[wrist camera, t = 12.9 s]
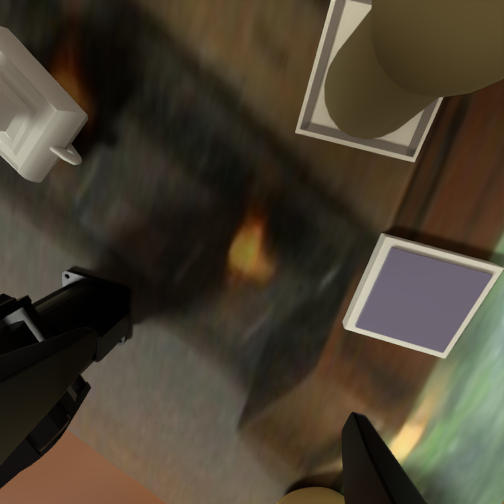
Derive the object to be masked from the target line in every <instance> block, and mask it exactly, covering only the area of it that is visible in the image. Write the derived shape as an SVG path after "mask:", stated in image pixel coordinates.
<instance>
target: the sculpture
mask: <svg viewBox="0 0 504 504" xmlns="http://www.w3.org/2000/svg"><path fill="white" fill-rule="evenodd" d="M276 504H345V500H344V496H343V495H341V494H340V493H338V492H336V491H334V490H332V489H329V488H325V487H307V488H302V489H298V490H295V491H293V492H290V493H289V494H287V495H285V496H284V497H282V498H281V499H280V500H279V501H278V502H277V503H276Z"/></svg>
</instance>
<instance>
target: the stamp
mask: <svg viewBox="0 0 504 504" xmlns="http://www.w3.org/2000/svg"><path fill="white" fill-rule="evenodd" d="M88 119H89V118H88V115H87V114H86V113H85V112H84V111H83V110H82V108H81V107H80V106H79V105H78V104H77V103H76V102H75V101H74V100H73V99H72V98H71V97H70V95H69V94H68V93H67V92H66V91H65V90H64V89H63V88H62V87H61V86H60V85H59V84H58V82H57V81H56V80H55V79H54V78H53V77H52V76H51V75H50V74H49V73H48V72H47V71H46V69H45V68H44V67H43V66H42V65H41V64H40V63H39V62H38V61H37V60H36V59H35V58H34V56H33V55H32V54H31V53H30V52H29V51H28V50H27V49H26V48H25V47H24V46H23V45H22V43H21V42H20V41H19V40H18V39H17V38H16V37H15V36H14V35H13V34H12V33H11V32H10V30H9V29H8V28H4V27H1V26H0V155H1V156H2V157H3V158H4V159H5V160H6V161H7V162H8V163H9V164H10V165H11V166H12V167H13V168H14V169H15V170H16V171H17V172H18V173H19V174H20V175H21V176H23V177H24V178H25V179H27V180H30V181H32V182H40V183H41V181H42V180H43V179H44V178H45V177H46V176H47V175H48V173H49V172H50V171H51V169H52V168H53V167H54V165H55V164H56V163H57V162H58V161H59V160H60V159H61V158H62V159H63V160H65V161H67V162H69V163H71V164H73V165H75V164H81V163H82V158H81V156H80V155H79V154H78V152H77V151H76V150H75V148H74V147H73V146H72V144H71V143H72V142H73V141H74V139H75V138H76V136H77V135H78V133H79V132H80V130H81V129H82V128H83V126H84V125H85V123H86V122H87V120H88Z"/></svg>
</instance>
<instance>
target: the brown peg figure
mask: <svg viewBox="0 0 504 504" xmlns="http://www.w3.org/2000/svg"><path fill="white" fill-rule="evenodd" d="M502 79H504V0H372V7H371V10H370V11H369V12H368V13H367V15H366V16H365V17H364V19H363V20H362V21H361V22H360V24H359V25H358V26H357V27H356V29H355V30H354V31H353V33H352V34H351V35H350V36H349V38H348V39H347V40H346V41H345V43H344V44H343V45H342V47H341V48H340V49H339V50H338V52H337V54H336V55H335V57H334V59H333V61H332V62H331V64H330V66H329V68H328V72H327V76H326V80H325V84H324V98H325V104H326V107H327V110H328V113H329V116H330V118H331V119H332V120H333V122H334V123H335V124H336V126H337V127H338V128H339V129H340V130H342V131H344V132H345V133H347V134H348V135H350V136H353V137H357V138H362V139H371V138H380V137H383V136H385V135H387V134H390V133H392V132H394V131H396V130H398V129H399V128H400V127H402V126H403V125H404V124H406V123H407V122H408V121H409V120H411V119H412V118H413V117H414V116H416V115H417V114H418V113H420V112H421V111H422V110H423V109H425V108H426V107H427V106H429V105H430V104H431V103H432V102H434V101H435V100H436V99H438V98H439V97H447V96H454V95H461V94H468V93H472V92H474V91H477V90H479V89H482V88H484V87H486V86H489V85H491V84H493V83H495V82H498V81H500V80H502Z"/></svg>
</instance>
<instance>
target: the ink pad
mask: <svg viewBox="0 0 504 504" xmlns="http://www.w3.org/2000/svg"><path fill="white" fill-rule="evenodd" d="M503 269H504V268H503V267H501V266H499V265H497V264H495V263H492V262H488V261H485V260H481V259H477V258H474V257H470V256H466V255H462V254H459V253H455V252H451V251H448V250H444V249H440V248H436V247H433V246H429V245H425V244H422V243H418V242H414V241H410V240H407V239H403V238H399V237H396V236H392V235H388V234H384V233H381V235H380V238H379V240H378V242H377V244H376V247H375V249H374V251H373V254H372V256H371V258H370V260H369V263H368V265H367V267H366V269H365V272H364V274H363V276H362V279H361V281H360V283H359V285H358V288H357V290H356V292H355V294H354V297H353V299H352V301H351V304H350V306H349V308H348V310H347V313H346V315H345V317H344V319H343V325H344V328H345V329H347V330H350V331H354V332H357V333H360V334H364V335H367V336H371V337H374V338H377V339H381V340H384V341H387V342H391V343H394V344H398V345H401V346H404V347H408V348H411V349H414V350H418V351H421V352H425V353H428V354H431V355H435V356H438V357H442V358H446V356H447V355H448V353H449V352H450V350H451V349H452V347H453V346H454V344H455V343H456V341H457V340H458V338H459V337H460V335H461V333H462V332H463V330H464V329H465V327H466V326H467V324H468V323H469V321H470V320H471V318H472V317H473V315H474V314H475V312H476V310H477V309H478V307H479V306H480V304H481V303H482V301H483V300H484V298H485V297H486V295H487V294H488V292H489V291H490V289H491V287H492V286H493V284H494V283H495V281H496V280H497V278H498V277H499V275H500V274H501V272H502V271H503Z"/></svg>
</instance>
